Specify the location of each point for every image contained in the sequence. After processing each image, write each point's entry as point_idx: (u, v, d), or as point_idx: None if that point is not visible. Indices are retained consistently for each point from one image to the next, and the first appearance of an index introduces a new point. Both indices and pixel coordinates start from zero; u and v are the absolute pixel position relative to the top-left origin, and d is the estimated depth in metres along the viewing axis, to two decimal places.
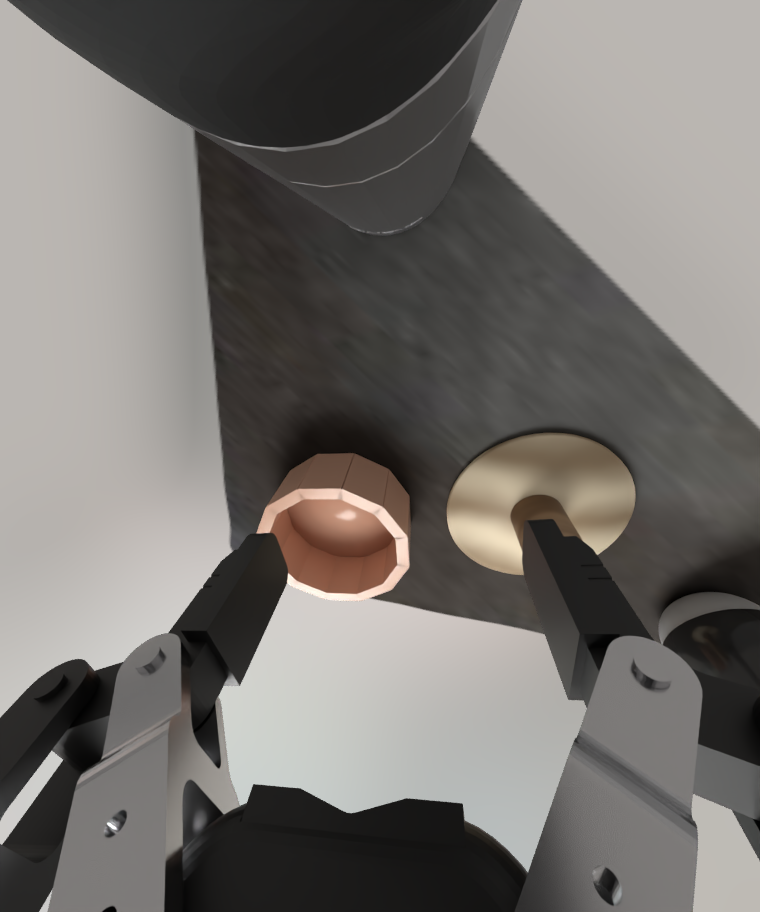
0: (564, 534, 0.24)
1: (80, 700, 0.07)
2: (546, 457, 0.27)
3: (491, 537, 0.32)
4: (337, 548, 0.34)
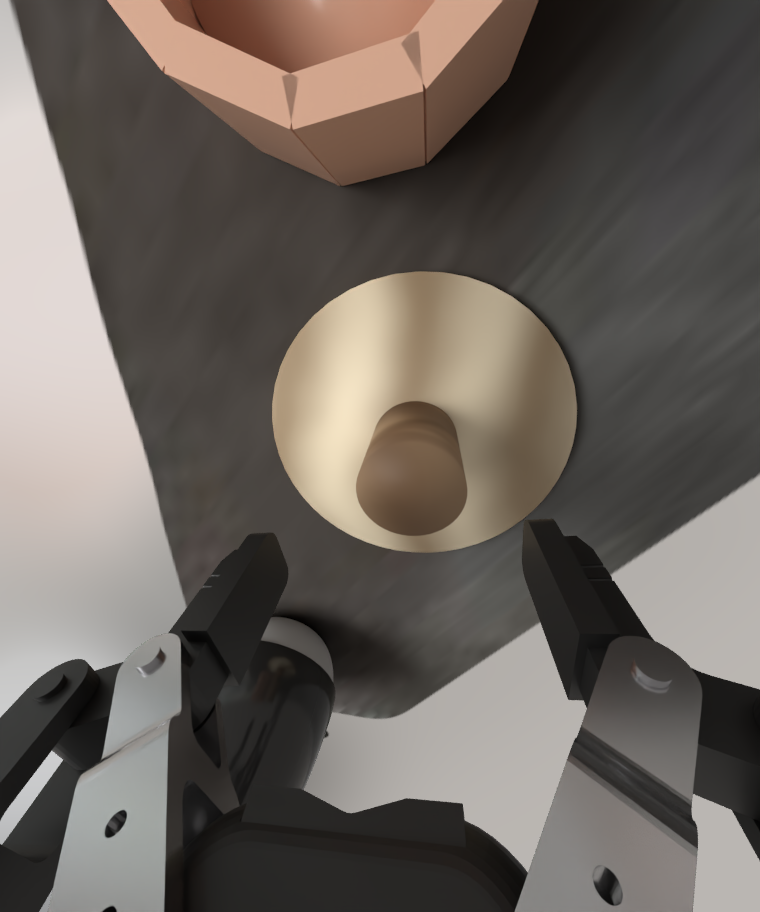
0: (466, 494, 0.13)
1: (80, 700, 0.07)
2: (532, 429, 0.16)
3: (349, 380, 0.16)
4: None
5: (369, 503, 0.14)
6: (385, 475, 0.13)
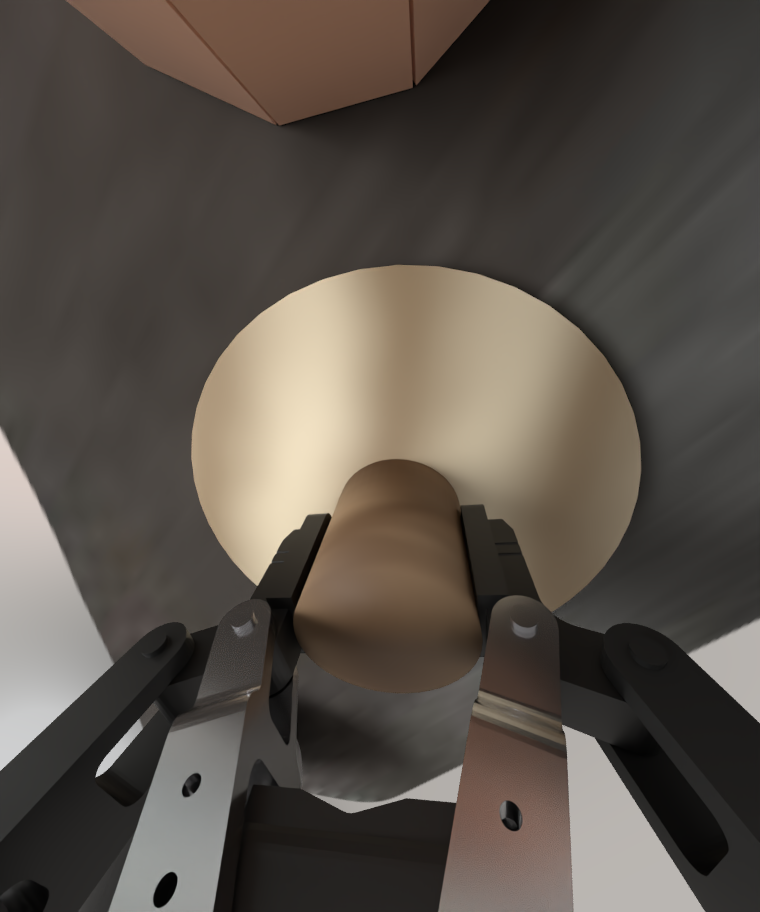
0: (480, 645, 0.07)
1: (183, 658, 0.07)
2: (571, 501, 0.11)
3: (300, 428, 0.11)
4: None
5: (318, 649, 0.08)
6: (340, 613, 0.07)
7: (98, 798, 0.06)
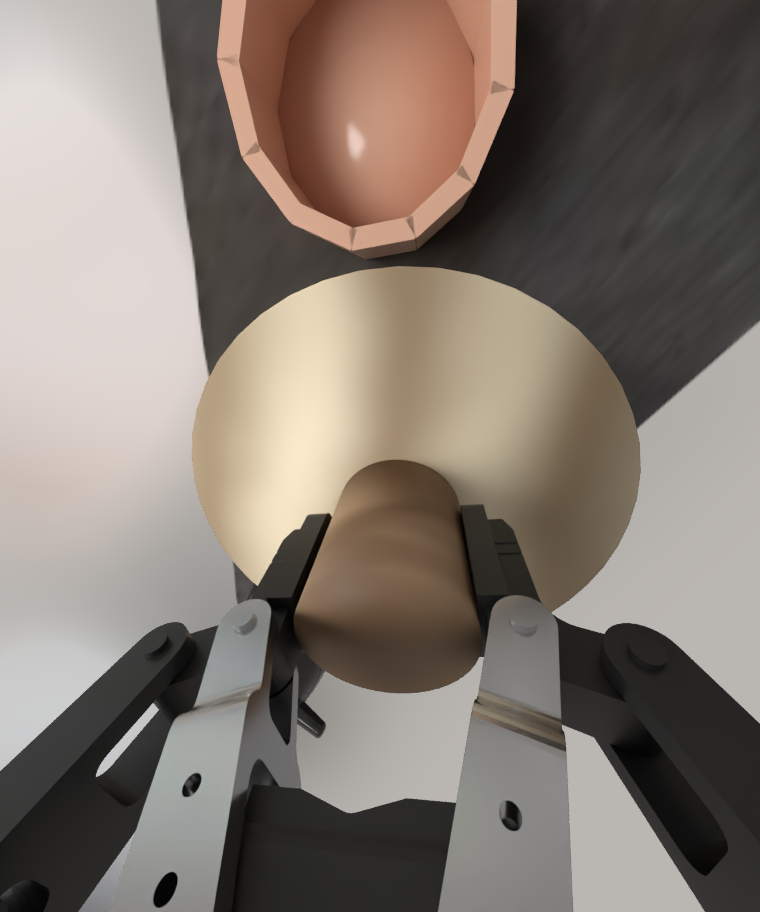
0: (480, 646, 0.08)
1: (183, 658, 0.07)
2: (571, 502, 0.11)
3: (299, 429, 0.11)
4: (298, 110, 0.19)
5: (318, 649, 0.08)
6: (340, 614, 0.08)
7: (98, 798, 0.06)
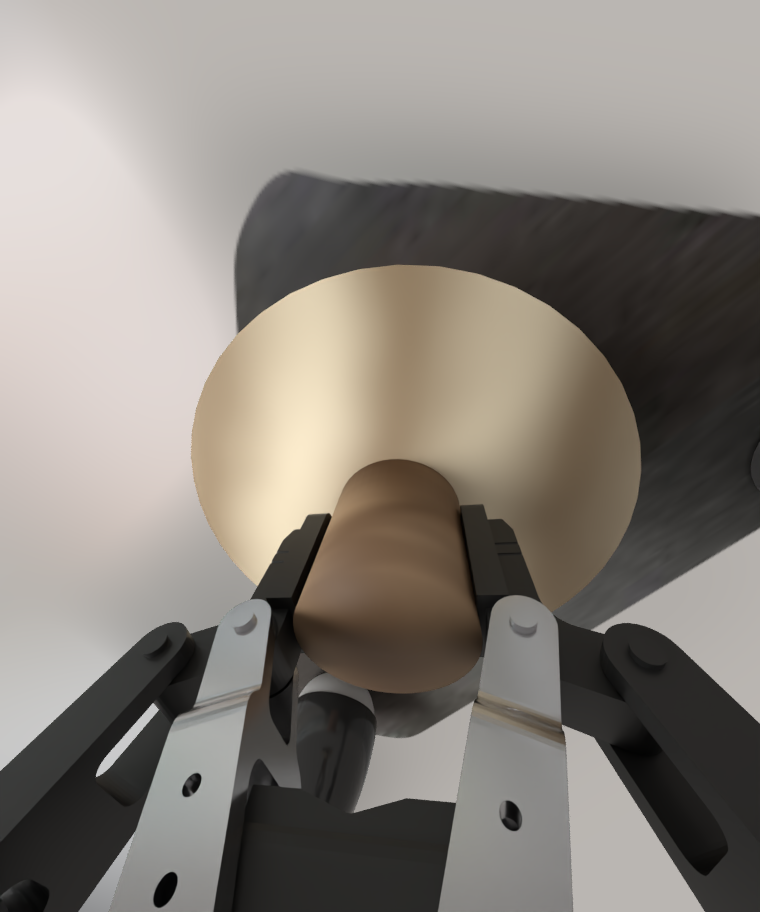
0: (480, 646, 0.07)
1: (183, 658, 0.07)
2: (571, 501, 0.11)
3: (299, 428, 0.11)
4: None
5: (318, 649, 0.08)
6: (340, 614, 0.07)
7: (98, 798, 0.06)
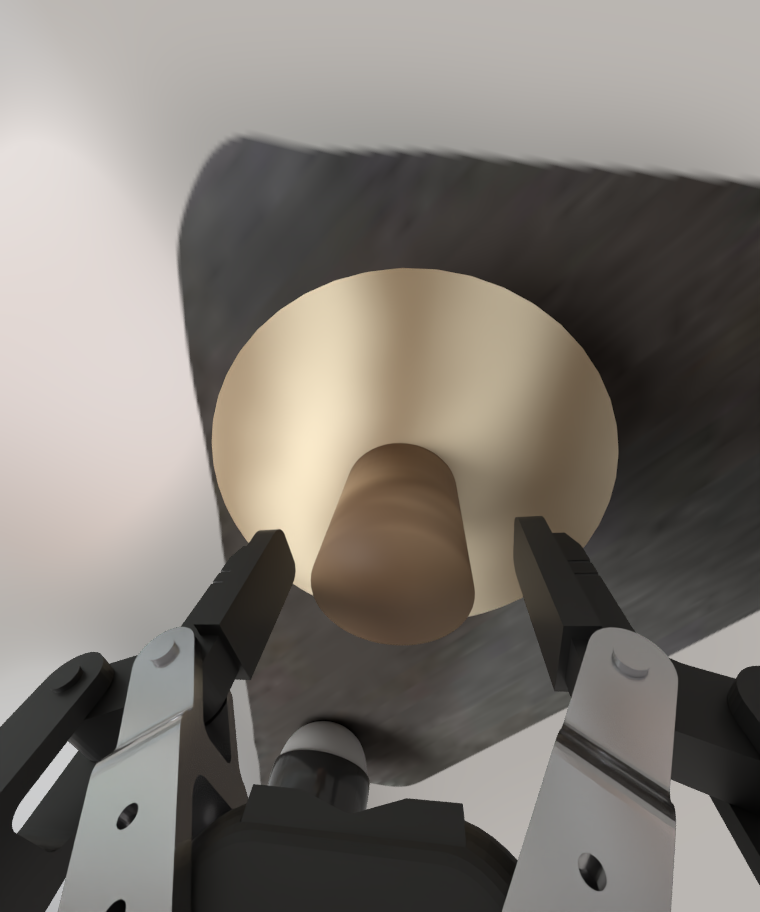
0: (473, 597, 0.09)
1: (96, 692, 0.07)
2: (557, 481, 0.12)
3: (311, 415, 0.12)
4: None
5: (331, 604, 0.09)
6: (352, 570, 0.09)
7: (17, 847, 0.05)
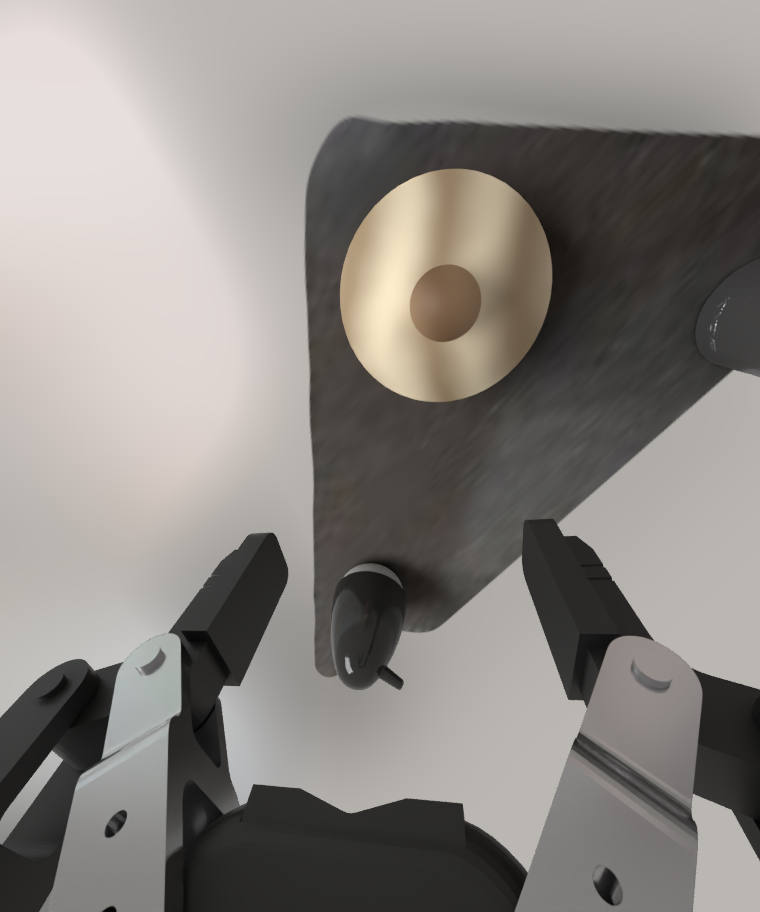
0: (480, 302, 0.20)
1: (80, 700, 0.07)
2: (522, 286, 0.24)
3: (396, 255, 0.24)
4: None
5: (417, 316, 0.21)
6: (429, 292, 0.20)
7: (2, 858, 0.05)
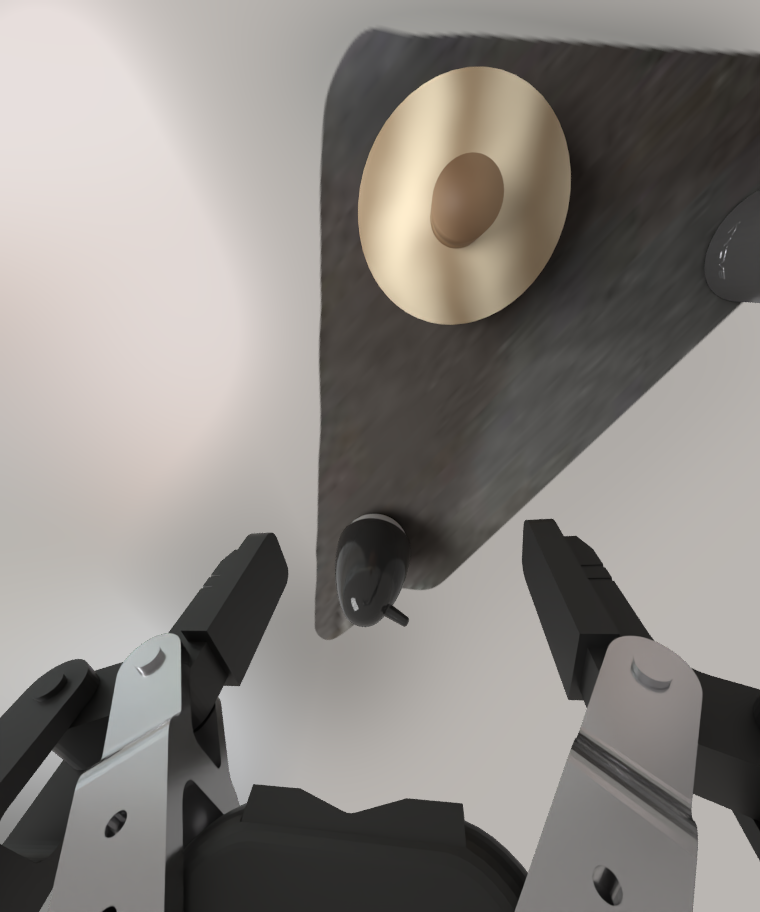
0: (503, 195, 0.21)
1: (80, 700, 0.07)
2: (541, 196, 0.24)
3: (417, 162, 0.24)
4: None
5: (439, 211, 0.21)
6: (452, 184, 0.21)
7: (2, 858, 0.05)
